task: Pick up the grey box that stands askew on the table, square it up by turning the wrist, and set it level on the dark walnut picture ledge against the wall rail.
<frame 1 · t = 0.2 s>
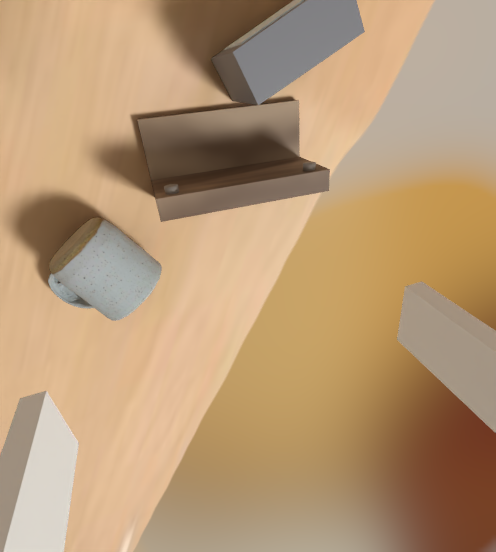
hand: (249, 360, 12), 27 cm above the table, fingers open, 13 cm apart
ceramic mug: (101, 261, 37), on the table
grey box: (265, 50, 32), on the table
wall rail: (228, 175, 37), on the table
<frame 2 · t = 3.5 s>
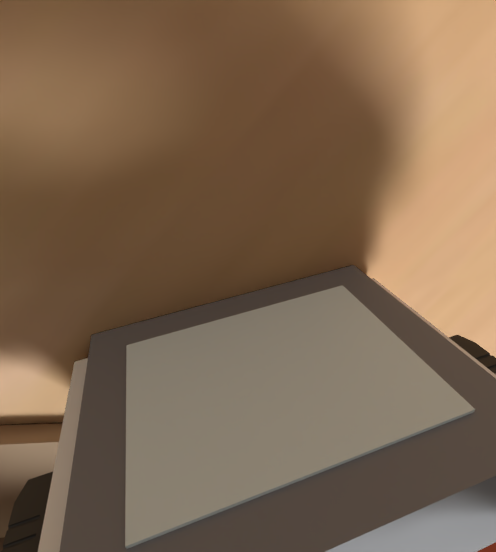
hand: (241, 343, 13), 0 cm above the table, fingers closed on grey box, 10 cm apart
grey box: (239, 338, 14), on the table, touching gripper
wall rail: (71, 521, 16), on the table
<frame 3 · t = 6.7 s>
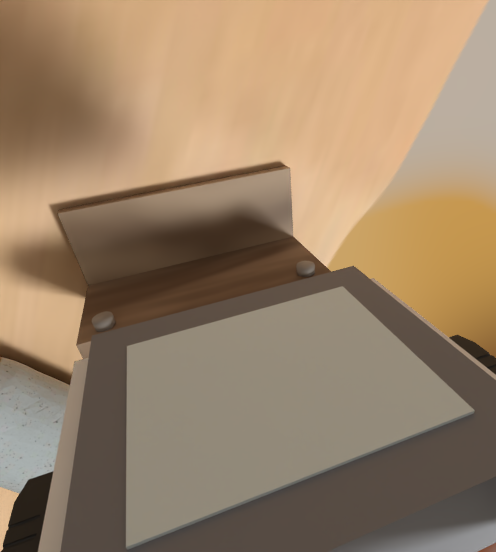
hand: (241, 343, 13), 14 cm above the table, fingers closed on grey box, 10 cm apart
ceramic mug: (18, 394, 28), on the table
grey box: (239, 338, 14), point 14 cm above the table, touching gripper
wall rail: (197, 266, 27), on the table
when the fingers open (2 cm above the table, at t = 9.6 s): grey box drops 1 cm, resting on wall rail.
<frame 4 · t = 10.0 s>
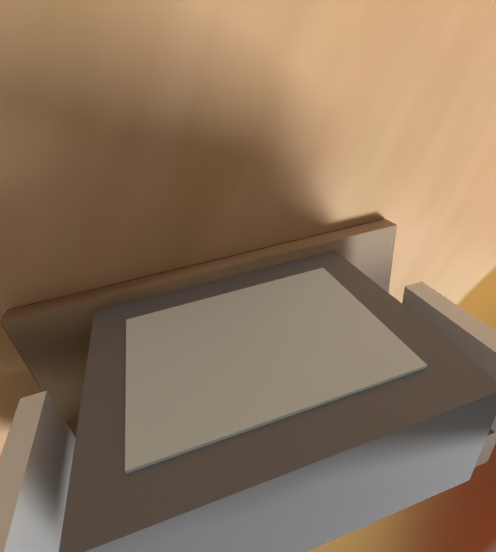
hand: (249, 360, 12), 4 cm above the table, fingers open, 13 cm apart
grey box: (230, 317, 15), point 1 cm above the table, touching wall rail
wall rail: (237, 370, 17), on the table
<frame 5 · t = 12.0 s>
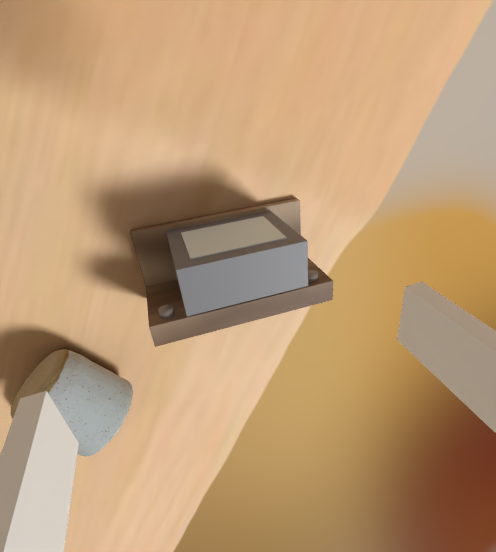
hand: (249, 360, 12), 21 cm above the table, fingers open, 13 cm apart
ceramic mug: (72, 380, 36), on the table
grey box: (223, 240, 33), point 1 cm above the table, touching wall rail
wall rail: (226, 273, 35), on the table
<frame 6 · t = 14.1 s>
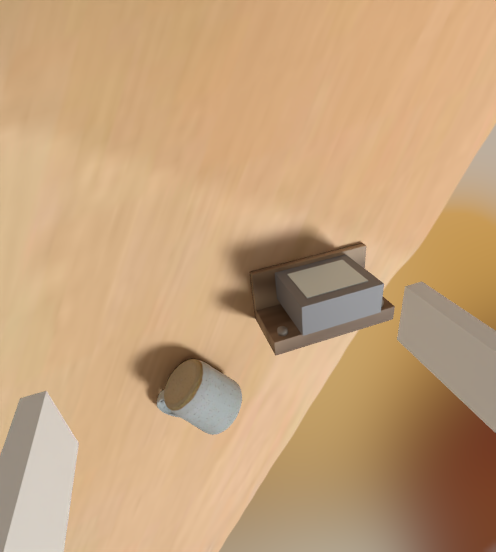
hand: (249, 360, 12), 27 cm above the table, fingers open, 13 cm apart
ceramic mug: (191, 380, 49), on the table
grey box: (311, 276, 45), point 1 cm above the table, touching wall rail
wall rail: (309, 298, 47), on the table
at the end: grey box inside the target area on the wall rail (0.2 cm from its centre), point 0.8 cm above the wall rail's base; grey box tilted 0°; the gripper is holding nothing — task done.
